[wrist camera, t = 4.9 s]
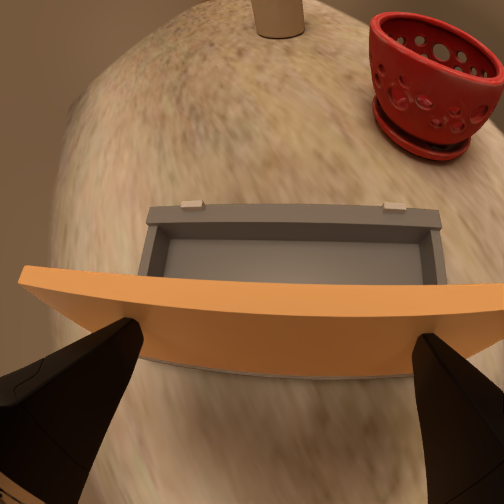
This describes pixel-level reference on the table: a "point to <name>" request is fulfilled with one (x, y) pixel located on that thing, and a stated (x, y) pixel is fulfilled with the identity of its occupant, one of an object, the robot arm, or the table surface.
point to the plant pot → (430, 84)
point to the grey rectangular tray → (295, 245)
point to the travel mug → (278, 17)
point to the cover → (278, 321)
